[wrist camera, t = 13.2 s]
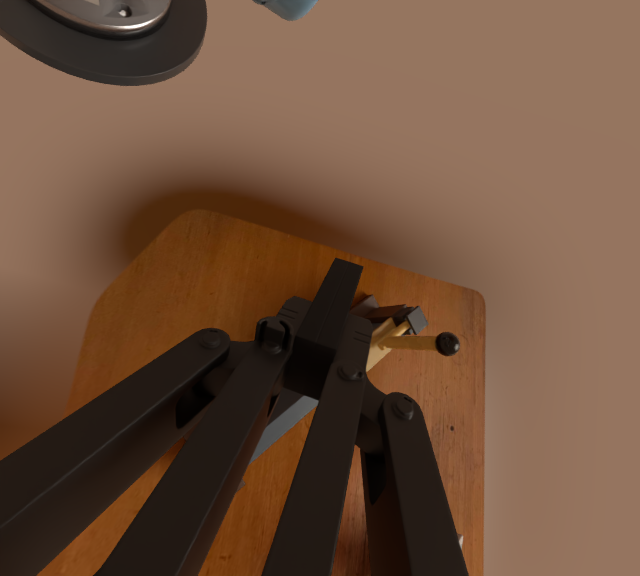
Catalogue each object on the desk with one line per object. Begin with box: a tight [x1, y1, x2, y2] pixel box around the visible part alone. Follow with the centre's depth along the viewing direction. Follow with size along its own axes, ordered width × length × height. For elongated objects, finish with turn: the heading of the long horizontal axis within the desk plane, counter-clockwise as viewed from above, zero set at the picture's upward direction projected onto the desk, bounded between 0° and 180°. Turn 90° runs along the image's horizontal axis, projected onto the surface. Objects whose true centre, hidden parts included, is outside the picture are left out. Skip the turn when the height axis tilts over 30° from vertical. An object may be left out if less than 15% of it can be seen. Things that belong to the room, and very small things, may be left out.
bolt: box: [377, 319, 460, 356], centre depth 34 cm, size 7×2×10 cm, turn 123°
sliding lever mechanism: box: [183, 295, 428, 492], centre depth 37 cm, size 29×7×9 cm, turn 123°
